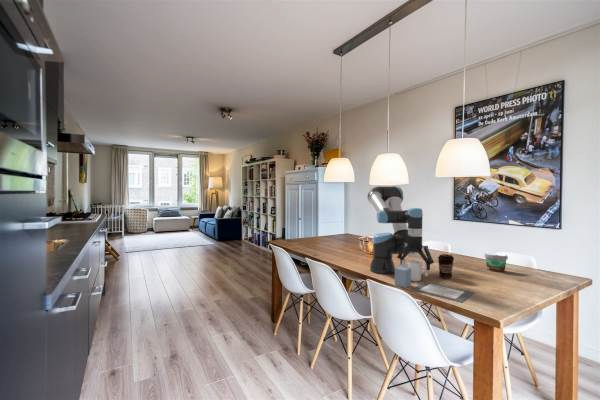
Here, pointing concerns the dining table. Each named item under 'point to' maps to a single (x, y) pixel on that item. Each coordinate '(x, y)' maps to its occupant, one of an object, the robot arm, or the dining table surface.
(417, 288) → the desk mat
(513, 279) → the dining table surface
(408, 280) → the block
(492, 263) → the food container
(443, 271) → the coffee cup
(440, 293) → the letter
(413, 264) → the white cup
